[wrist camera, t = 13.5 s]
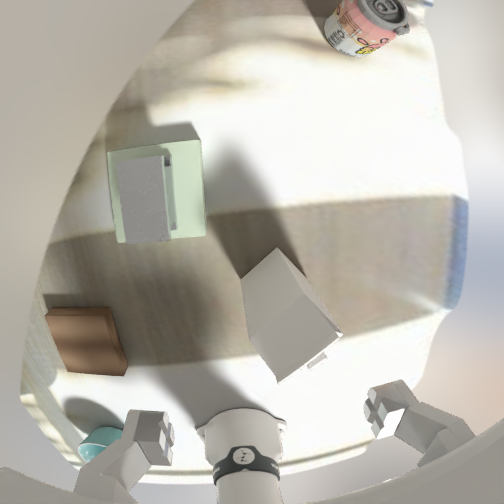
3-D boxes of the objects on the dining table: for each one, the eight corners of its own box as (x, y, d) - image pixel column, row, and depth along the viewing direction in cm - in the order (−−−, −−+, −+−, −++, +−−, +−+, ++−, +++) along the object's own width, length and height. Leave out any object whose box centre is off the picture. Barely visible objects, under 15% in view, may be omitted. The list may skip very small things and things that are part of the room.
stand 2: (207, 230, 39) (206, 235, 36) (124, 237, 38) (117, 243, 35) (201, 141, 35) (199, 139, 33) (115, 152, 34) (107, 152, 32)
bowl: (106, 452, 54) (100, 476, 46) (75, 415, 49) (64, 440, 41) (158, 454, 55) (155, 480, 47) (130, 416, 50) (122, 445, 42)
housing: (171, 156, 33) (161, 155, 27) (178, 227, 36) (169, 240, 30) (133, 161, 32) (116, 161, 27) (140, 231, 35) (126, 244, 30)
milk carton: (239, 279, 42) (252, 365, 24) (276, 246, 41) (316, 314, 23) (272, 309, 44) (300, 399, 26) (307, 279, 43) (358, 356, 25)
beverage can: (355, 7, 30) (391, -26, 19) (386, 48, 32) (430, 25, 21) (310, 23, 31) (339, -16, 19) (343, 67, 33) (384, 41, 22)
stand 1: (128, 365, 45) (123, 376, 42) (73, 362, 44) (67, 371, 41) (109, 307, 41) (103, 316, 39) (52, 307, 40) (44, 315, 38)
